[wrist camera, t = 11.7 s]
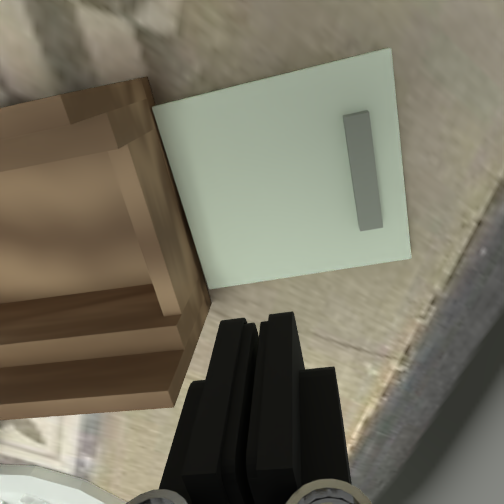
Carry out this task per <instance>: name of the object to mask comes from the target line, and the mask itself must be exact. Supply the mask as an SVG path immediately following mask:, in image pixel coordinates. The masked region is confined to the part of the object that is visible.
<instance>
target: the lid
mask: <svg viewBox="0 0 504 504" xmlns="http://www.w3.org/2000/svg"><path fill="white" fill-rule="evenodd" d="M152 110H153V113H154V116H155V119H156V122H157V126H158V129H159V132H160V135H161V138H162V141H163V145H164V148H165V151H166V154H167V157H168V160H169V164H170V167H171V170H172V173H173V176H174V180H175V183H176V186H177V189H178V192H179V195H180V199H181V202H182V205H183V208H184V211H185V214H186V218H187V221H188V224H189V227H190V230H191V234H192V237H193V240H194V243H195V246H196V249H197V253H198V256H199V259H200V262H201V265H202V269H203V272H204V275H205V278H206V281H207V284H208V288H209V289H215V288H222V287H228V286H235V285H242V284H248V283H255V282H261V281H268V280H274V279H281V278H287V277H294V276H300V275H307V274H313V273H320V272H327V271H333V270H340V269H346V268H353V267H359V266H366V265H372V264H379V263H385V262H392V261H398V260H405V259H411V248H410V238H409V227H408V217H407V206H406V196H405V186H404V175H403V165H402V154H401V144H400V134H399V123H398V113H397V102H396V92H395V81H394V71H393V61H392V50H391V48H385V49H381V50H376V51H372V52H368V53H364V54H360V55H356V56H352V57H348V58H344V59H340V60H336V61H332V62H328V63H324V64H320V65H316V66H312V67H308V68H304V69H300V70H296V71H292V72H288V73H284V74H280V75H276V76H272V77H268V78H264V79H260V80H256V81H252V82H248V83H244V84H240V85H236V86H232V87H228V88H224V89H220V90H216V91H211V92H207V93H203V94H199V95H195V96H191V97H187V98H183V99H179V100H175V101H171V102H167V103H163V104H159V105H156V106H153V107H152Z"/></svg>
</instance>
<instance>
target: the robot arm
mask: <svg viewBox="0 0 504 504" xmlns="http://www.w3.org/2000/svg"><path fill="white" fill-rule="evenodd" d="M126 504H372V503H371V501H370V499H369V498H368V497H367V496H366V495H365V494H364V493H363V492H362V491H361V490H360V489H358V488H356V487H355V486H353V485H352V484H351V477H350V469H349V462H348V454H347V447H346V440H345V432H344V425H343V418H342V411H341V404H340V398H339V391H338V385H337V379H336V372H335V367H325V368H315V369H306V370H305V367H304V362H303V357H302V352H301V347H300V341H299V336H298V331H297V326H296V321H295V316H294V313H293V312H285V313H277V314H270V315H269V319H268V321H264V322H261V324H260V332H259V336H258V332H257V328H256V325H255V323H248V324H247V321H246V319H245V318H237V319H230V320H222V321H221V322H220V325H219V329H218V332H217V336H216V340H215V344H214V348H213V352H212V356H211V360H210V364H209V368H208V372H207V376H206V380H200V381H193V382H192V383H191V384H190V386H189V389H188V392H187V395H186V399H185V402H184V405H183V409H182V412H181V416H180V419H179V422H178V426H177V429H176V432H175V436H174V439H173V443H172V446H171V449H170V453H169V456H168V459H167V463H166V466H165V469H164V473H163V476H162V480H161V483H160V486H159V490H151V491H148V492H146V493H143V494H140V495H138V496H137V497H135V498H134V499H132V500H131V501H129V502H127V503H126Z"/></svg>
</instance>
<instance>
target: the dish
mask: <svg viewBox="0 0 504 504" xmlns="http://www.w3.org/2000/svg"><path fill="white" fill-rule="evenodd" d="M126 503H127V502H126V501H124V500H122V499H120V498H118V497H117V496H115V495H113V494H111V493H109V492H107V491H105V490H103V489H102V488H100V487H98V486H96V485H94V484H92V483H90V482H88V481H87V480H85V479H81V478H78V477H74V476H71V475H67V474H64V473H60V472H56V471H53V470H49V469H46V468H42V467H39V466H31V465H5V464H0V504H126Z"/></svg>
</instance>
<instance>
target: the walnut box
mask: <svg viewBox="0 0 504 504" xmlns="http://www.w3.org/2000/svg"><path fill="white" fill-rule="evenodd" d="M153 106H155V102H154V98H153V95H152V91H151V88H150V84H149V81H148V77H143V78H138V79H133V80H128V81H124V82H119V83H114V84H109V85H104V86H99V87H94V88H89V89H84V90H79V91H75V92H70V93H65V94H60V95H55V96H51V97H47V98H42V99H38V100H34V101H29V102H25V103H20V104H16V105H12V106H7V107H3V108H0V420H10V419H23V418H37V417H50V416H64V415H77V414H91V413H104V412H118V411H131V410H145V409H158V408H172V407H174V406H175V403H176V400H177V398H178V395H179V392H180V389H181V386H182V384H183V381H184V378H185V375H186V373H187V370H188V367H189V364H190V362H191V359H192V356H193V353H194V351H195V348H196V345H197V342H198V339H199V337H200V334H201V331H202V328H203V326H204V323H205V320H206V317H207V315H208V312H209V309H210V306H211V300H210V297H209V293H208V289H207V286H206V282H205V279H204V275H203V272H202V268H201V265H200V261H199V258H198V254H197V251H196V247H195V244H194V240H193V237H192V234H191V230H190V227H189V224H188V221H187V218H186V214H185V211H184V208H183V205H182V202H181V199H180V195H179V192H178V189H177V186H176V183H175V180H174V176H173V173H172V170H171V167H170V164H169V160H168V157H167V154H166V151H165V148H164V145H163V141H162V138H161V135H160V132H159V129H158V126H157V122H156V119H155V116H154V113H153V110H152V107H153Z"/></svg>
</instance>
